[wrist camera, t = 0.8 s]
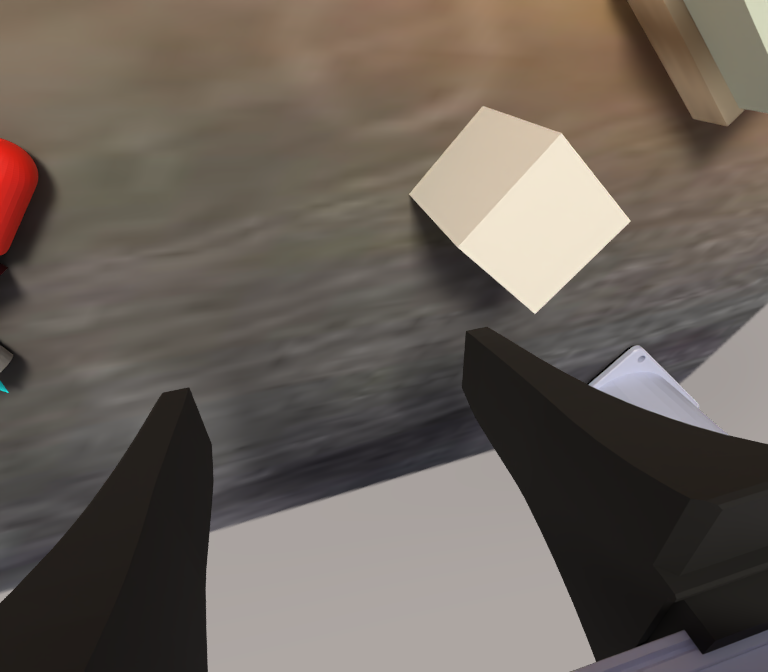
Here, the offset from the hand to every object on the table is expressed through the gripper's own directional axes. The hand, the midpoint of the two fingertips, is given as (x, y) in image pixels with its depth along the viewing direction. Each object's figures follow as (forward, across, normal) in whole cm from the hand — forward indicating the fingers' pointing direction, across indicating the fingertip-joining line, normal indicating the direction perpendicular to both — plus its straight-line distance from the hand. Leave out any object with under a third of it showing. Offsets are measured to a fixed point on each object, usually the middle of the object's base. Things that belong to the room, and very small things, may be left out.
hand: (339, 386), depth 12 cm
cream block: (+10, -8, -1) cm, 13 cm away
